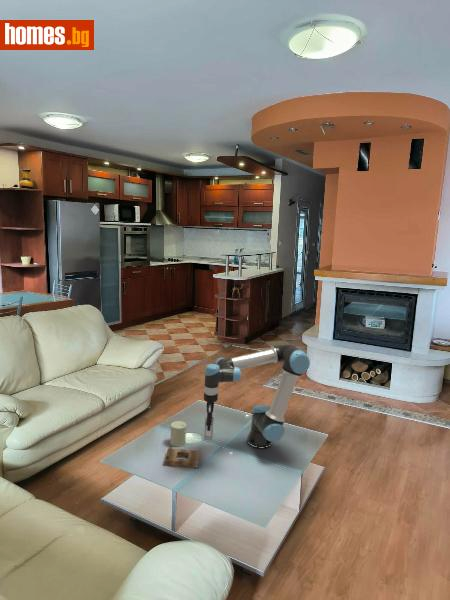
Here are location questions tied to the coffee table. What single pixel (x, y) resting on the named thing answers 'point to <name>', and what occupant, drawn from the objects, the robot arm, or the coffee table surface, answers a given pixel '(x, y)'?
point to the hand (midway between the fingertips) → (208, 432)
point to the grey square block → (211, 431)
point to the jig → (174, 453)
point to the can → (178, 433)
